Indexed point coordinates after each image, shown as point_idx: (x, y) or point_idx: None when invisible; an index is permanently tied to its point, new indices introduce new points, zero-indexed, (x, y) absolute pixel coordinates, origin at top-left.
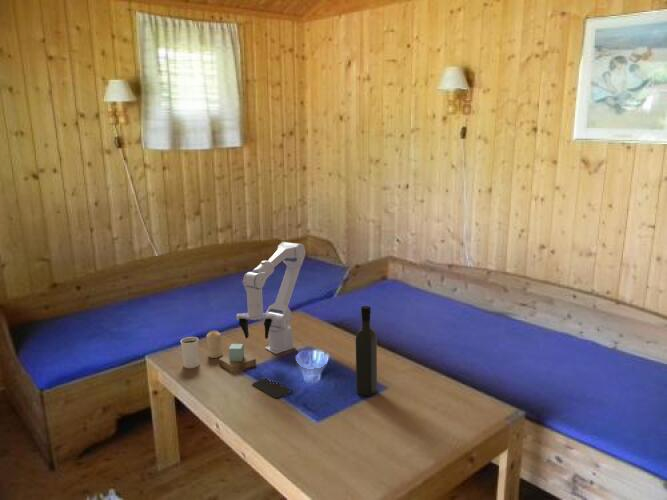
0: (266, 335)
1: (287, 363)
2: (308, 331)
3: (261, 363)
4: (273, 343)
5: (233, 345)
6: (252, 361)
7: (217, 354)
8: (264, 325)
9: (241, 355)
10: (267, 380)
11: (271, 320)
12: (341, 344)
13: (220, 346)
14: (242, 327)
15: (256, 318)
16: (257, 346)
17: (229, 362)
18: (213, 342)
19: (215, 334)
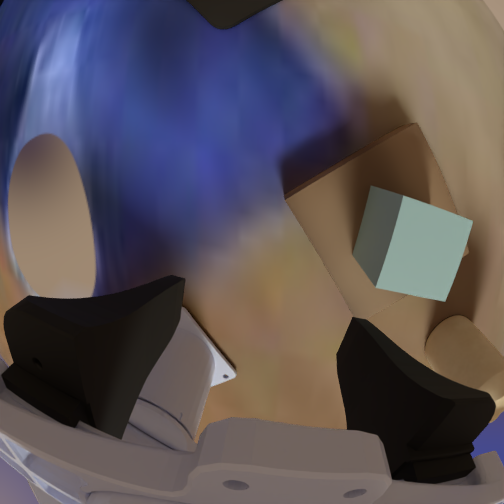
0: (159, 281)
1: (123, 189)
2: None
3: (253, 211)
4: (181, 356)
5: (441, 271)
6: (304, 186)
7: (452, 325)
8: (107, 322)
9: (379, 199)
10: (222, 5)
11: (11, 367)
12: (3, 319)
13: (450, 356)
14: (433, 374)
15: (194, 462)
16: (271, 396)
17: (431, 185)
18: (492, 354)
19: (497, 390)
